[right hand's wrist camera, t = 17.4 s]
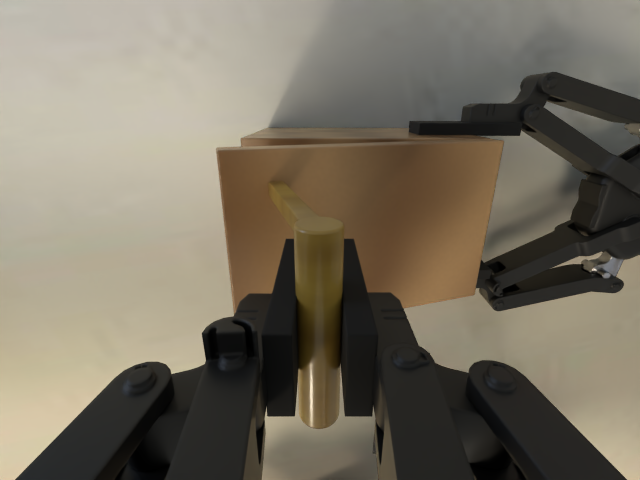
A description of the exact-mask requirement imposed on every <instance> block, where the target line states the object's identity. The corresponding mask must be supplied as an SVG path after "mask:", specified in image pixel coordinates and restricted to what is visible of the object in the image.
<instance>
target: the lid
mask: <svg viewBox="0 0 640 480" xmlns="http://www.w3.org/2000/svg"><path fill="white" fill-rule="evenodd" d="M503 144H504V141H503V140H494V139H466V140H435V141H404V142H373V143H342V144H311V145H280V146H249V147H218V148H216V153H217V162H218V171H219V180H220V190H221V199H222V208H223V217H224V226H225V235H226V244H227V254H228V263H229V272H230V281H231V290H232V299H233V308H234V315H235V312H236V310H237V307H238V305H239V302H240V301H241V300H242V299H243V298H244V297H246V296H247V295H248V294H249V293H272V291H273V287H274V283H275V279H276V275H277V271H278V267H279V264H280V260H281V256H282V252H283V248H284V244H285V240H286V239H294V259H295V293H296V296H297V330H298V364H299V370H298V393H299V415H300V418H301V419H302V421H303V422H304V423H305V424H306V425H307V426H309V427H312V428H315V429H323V428H327V427H329V426H331V425H332V424H333V423H334V422H335V421H336V419H337V418H338V415H339V398H340V364H341V329H342V295H343V260H344V239H354V241H355V245H356V249H357V253H358V257H359V261H360V265H361V269H362V273H363V277H364V280H365V284H366V288H367V292H391V293H392V294H393V295H394V296H395V297H397V298H398V299H399V300H400V302H401V304H402V307H403V308H408V307H413V306H418V305H424V304H429V303H434V302H440V301H445V300H450V299H456V298H461V297H466V296H472V295H474V293H475V288H476V283H477V278H478V273H479V268H480V263H481V257H482V252H483V247H484V242H485V237H486V232H487V227H488V221H489V216H490V211H491V206H492V201H493V196H494V191H495V185H496V180H497V175H498V170H499V165H500V160H501V155H502V149H503Z"/></svg>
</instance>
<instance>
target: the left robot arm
mask: <svg viewBox="0 0 640 480" xmlns="http://www.w3.org/2000/svg"><path fill="white" fill-rule="evenodd" d="M520 89H521V91H520V93H519V95H518V96H517V98H516V99H515V100H514V101H513V102H511V103H508V104H469V105H467V106H464V107H463V111H462V118H461V121H410V123H409V132H410V133H414V134H417V135H475V136H520V133H521V130H522V131H523V132H525V133H526V134H528V135H529V136H531V137H532V138H534V139H536V140H537V141H539V142H540V143H542V144H543V145H545V146H546V147H548V148H549V149H551V150H552V151H554V152H555V153H557V154H558V155H560V156H561V157H563V158H564V159H566V160H567V161H569V162H570V163H572V164H573V165H572V166H573V167H575V168H576V169H578V170H579V171H581V172H582V173H584V174H585V175H587V176H588V177H587V178H586V179H582V180H581V184H580V187H579V200H578V202H577V204H576V205H575V207H574V209H573V212H572V215H571V220H569V221H567V222H565V223H563V224H561V225H558V226H557V227H555V231H553V232H552V233H549V234H547V235H545V236H543V237H540V238H538V239H536V240H534V241H532V242H529V243H527V244H525V245H523V246H520V247H518V248H516V249H514V250H512V251H509V252H507V253H505V254H503V255H500V256H498V257H496V258H494V259H492V260H489V261H487V262H485V263H484V262H483V261H482V260H481V263H480V268H479V273H478V278H477V283H476V288H479V292H480V294H481V295H482V296H483V297H484V298H485V299H486V301H487V302H488V303H489V304H490V305H491V307H492V308H493V309H494V310H496V311H502V310H507V309H512V308H516V307H521V306H526V305H530V304H535V303H540V302H544V301H549V300H554V299H558V298H563V297H568V296H572V295H577V294H582V293H586V292H591V291H592V292H605V293H616V292H619V291H620V290H621V289H622V288H623V286H624V283H623V281H622V280H620V279H619V278H617V277H616V275H617V273H618V271H619V269H620V267H621V264H622V262H623V260H625V259H630V258H633V257H635V256H637V255H640V144H638V145H636V146H634V147H632V148H630V149H629V150H627V151H625V152H624V153H622V154H620V155H619V156H615V155H613V154H611V153H609V152H608V151H606V150H605V149H603V148H602V147H600V146H599V145H597V144H596V143H595V142H593V141H592V140H590V139H589V138H587V137H586V136H584V135H583V134H581V133H580V132H579V131H577V130H576V129H574V128H573V127H571V126H570V125H568V124H567V123H565V122H564V121H563V120H561V119H560V118H558V117H557V116H555V115H554V114H552V113H551V112H549V111H548V110H547V109H545V108H544V105H545V103H546V101H547V102H551V103H554V104H557V105H560V106H563V107H566V108H569V109H573V110H576V111H579V112H582V113H585V114H588V115H591V116H595V117H598V118H601V119H604V120H607V121H611V122H618V123H626V124H625V129H626V130H629V132H630V134H632V135H636V136H638V137H639V138H640V99H636V98H633V97H630V96H627V95H624V94H621V93H618V92H615V91H612V90H609V89H606V88H603V87H600V86H597V85H594V84H591V83H588V82H584V81H581V80H578V79H575V78H572V77H569V76H566V75H563V74H560V73H557V72H550V73H543V74H536V75H530V76H527V77H526V78H524V79H523V81H522V82H521V85H520ZM601 251H602V252H603V253H602V255H601V256H600V257H599V258H597V259H593V260H587V259H585V260H583V261H582V262H581V264H572V265H565V266H560V267H556V268H552V267H554V266H557V265H559V264H561V263H564V262H566V261H568V260H571V259H573V258H575V257H578V256H591V255H594V254H596V253H599V252H601ZM550 268H551V269H550Z"/></svg>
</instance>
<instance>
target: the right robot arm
mask: <svg viewBox="0 0 640 480" xmlns="http://www.w3.org/2000/svg"><path fill="white" fill-rule="evenodd" d="M202 337H203V344H204V350H205V357H206V363H205V364H204V365H202V366H200V367H198V368H195V369H191V370H188V371H183V372H179V373H175V374H171V370H170V369H169V368H168V366H167V365H166V364H163V363H160V362H145V363H141V364H138V365H135V366H133V367H130V368H128V369H126V370H124V371H123V372H122V373H121V374H119V375H118V376H117V377H116V378H114V379H113V380H112V381H111V382H110V384H109V385H108V386H107V387H106V388H105V389H104V390H103V391H102V392H101V393H100V394H99V395H98V396H97V397H96V398H95V399H94V400H93V401H92V402H91V403H90V404H89V405H88V406H87V407H86V408H85V409H84V410H83V411H82V412H81V413H80V414H79V415H78V416H77V417H76V418H75V419H74V420H73V421H72V422H71V423H70V424H69V425H68V426H67V427H66V428H65V429H64V430H63V431H62V433H61V434H60V435H59V436H58V437H57V438H56V439H55V440H54V441H53V442H52V443H51V444H50V445H49V446H48V447H47V448H46V449H45V450H44V451H43V452H42V453H41V454H40V455H39V456H38V457H37V458H36V459H35V460H34V461H33V462H32V463H31V464H30V465H29V466H28V467H27V468H26V469H25V470H24V471H23V472H22V473H21V474H20V475H19V476H18V477H17V478H16V479H15V480H262V469H263V458H264V446H265V434H266V432H265V420H264V418H265V412H266V406H267V416H295V408H296V395H297V383H298V370H299V364H298V330H297V296H296V293H295V259H294V239H286V240H285V244H284V248H283V252H282V256H281V260H280V264H279V267H278V271H277V275H276V279H275V283H274V287H273V291H272V293H249V294H248V295H247V296H246V297H244V298H243V299H242V300H241V301H240V302H239V305H238V307H237V310H236V312H235V315H234V317H227V318H223V319H220V320H217V321H215V322H213V323H212V324H210V325H209V326H207V327H206V328H205V330H204V331H203V333H202ZM341 374H342V386H343V399H344V411H345V416H372V412H373V406H374V412H375V418H376V420H375V432H374V444H373V453H374V454H376V457H377V469H378V480H627V479H626V478H625V477H624V476H623V475H622V474H621V473H620V472H619V471H618V470H617V469H616V468H615V467H614V466H613V465H612V464H611V463H610V462H609V461H608V460H607V459H606V458H605V457H604V456H603V455H602V454H601V453H600V452H599V451H598V450H597V449H596V448H595V447H594V446H593V445H592V444H591V443H590V442H589V441H588V440H587V439H586V438H585V437H584V436H583V435H582V434H581V433H580V432H579V431H578V430H577V429H576V428H575V427H574V426H573V425H572V424H571V422H570V421H569V420H568V419H567V418H566V417H565V416H564V415H563V414H562V413H561V412H560V411H559V410H558V409H557V408H556V407H555V406H554V405H553V404H552V403H551V402H550V401H549V400H548V399H547V398H546V397H545V396H544V395H543V394H542V393H541V392H540V391H539V390H538V389H537V388H536V387H535V386H534V385H533V384H532V383H531V382H530V381H529V380H528V379H527V378H526V377H525V376H524V375H523V374H521V373H520V372H519V371H518V370H516V369H515V368H512V367H510V366H508V365H506V364H504V363H500V362H496V361H490V360H482V361H479V362H476V363H474V364H473V365H472V366H471V367H470V369H469V373H467V372H462V371H458V370H454V369H450V368H446V367H443V366H440V365H438V364H436V363H435V362H434V360H433V358H432V357H431V355H430V353H428V352H427V351H426V350H425V349H423V348H422V347H419V346H418V343H417V341H416V338H415V336H414V333H413V331H412V329H411V326H410V324H409V321H408V319H407V316H406V314H405V312H404V309H403V307H402V304H401V302H400V300H399V299H398V298H397V297H395V296H394V295H393V294H392V293H391V292H367V288H366V284H365V280H364V277H363V273H362V269H361V265H360V261H359V257H358V253H357V249H356V245H355V241H354V239H344V260H343V295H342V329H341Z"/></svg>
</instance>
